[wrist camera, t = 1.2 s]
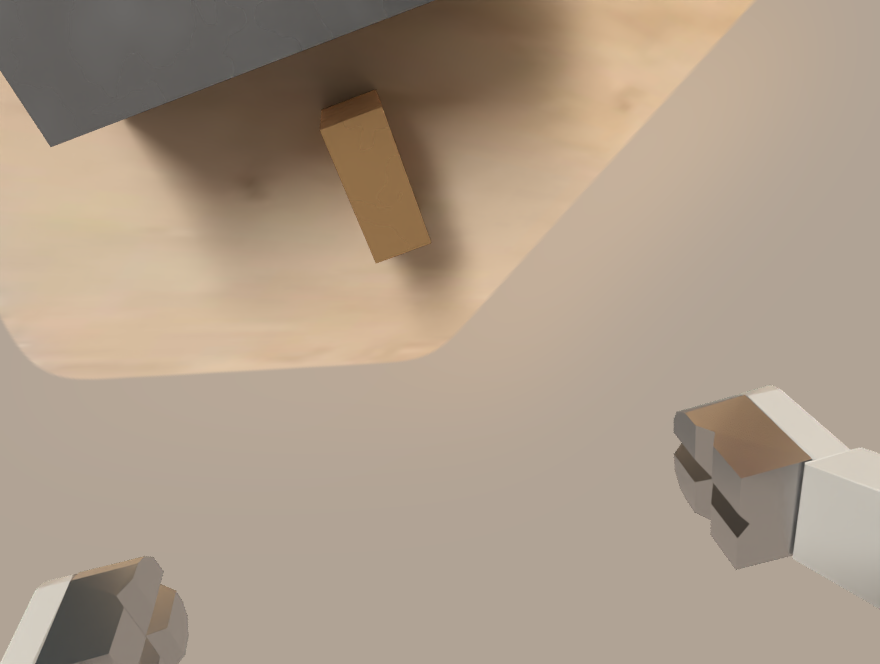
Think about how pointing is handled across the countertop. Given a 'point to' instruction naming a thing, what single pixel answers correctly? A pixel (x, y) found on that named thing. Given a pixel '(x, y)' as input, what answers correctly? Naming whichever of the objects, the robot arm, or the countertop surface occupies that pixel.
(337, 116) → the brown wooden block
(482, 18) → the countertop surface
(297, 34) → the post box
